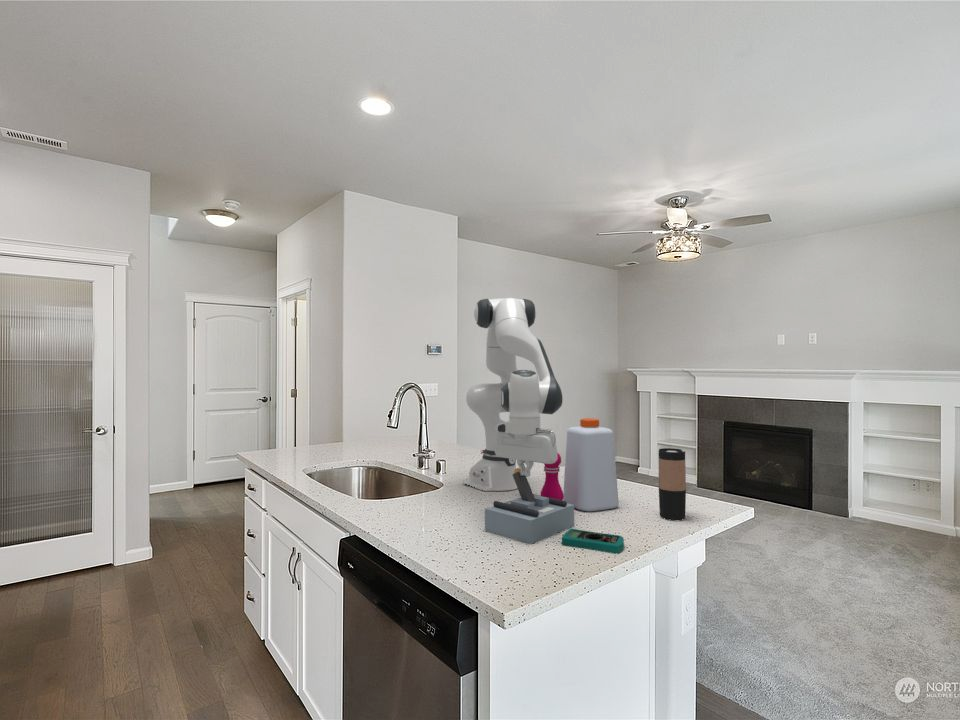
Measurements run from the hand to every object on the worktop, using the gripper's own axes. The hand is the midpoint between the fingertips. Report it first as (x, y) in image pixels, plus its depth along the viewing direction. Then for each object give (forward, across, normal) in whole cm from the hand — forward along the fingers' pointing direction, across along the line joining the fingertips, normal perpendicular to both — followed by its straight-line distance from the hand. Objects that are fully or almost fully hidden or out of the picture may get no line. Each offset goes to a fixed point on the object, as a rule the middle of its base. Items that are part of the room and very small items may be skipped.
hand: (525, 476), depth 142 cm
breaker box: (+14, -2, 0) cm, 14 cm away
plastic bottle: (+14, -2, -32) cm, 35 cm away
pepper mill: (+14, +4, -19) cm, 24 cm away
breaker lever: (+7, -2, 0) cm, 7 cm away
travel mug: (+14, -27, -37) cm, 48 cm away
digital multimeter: (+15, -21, 0) cm, 26 cm away
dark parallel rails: (+8, -2, 0) cm, 8 cm away
